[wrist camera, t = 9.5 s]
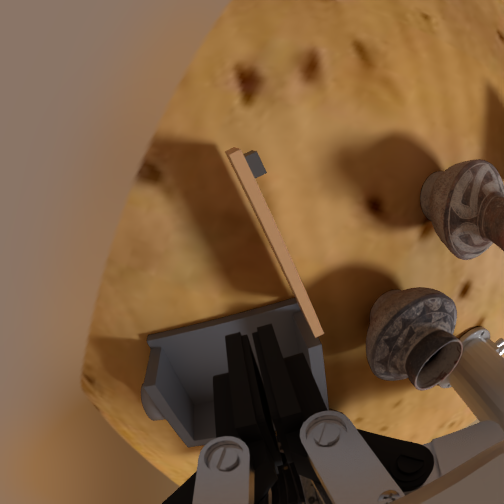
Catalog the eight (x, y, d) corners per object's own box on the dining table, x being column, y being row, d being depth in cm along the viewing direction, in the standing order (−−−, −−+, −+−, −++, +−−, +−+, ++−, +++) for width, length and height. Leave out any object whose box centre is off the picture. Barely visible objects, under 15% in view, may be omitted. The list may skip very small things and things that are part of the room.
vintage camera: (228, 444, 39) (243, 560, 21) (298, 391, 35) (343, 531, 17) (276, 455, 42) (299, 555, 24) (344, 407, 38) (392, 520, 20)
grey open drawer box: (299, 296, 30) (323, 340, 23) (313, 377, 34) (331, 421, 28) (131, 338, 29) (117, 387, 22) (175, 410, 34) (172, 456, 27)
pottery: (476, 174, 28) (552, 198, 17) (399, 350, 35) (445, 410, 24) (415, 132, 25) (507, 144, 14) (331, 344, 33) (373, 421, 22)
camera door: (315, 297, 28) (334, 328, 24) (298, 305, 28) (315, 337, 24) (245, 141, 22) (255, 142, 18) (224, 151, 22) (228, 154, 18)
